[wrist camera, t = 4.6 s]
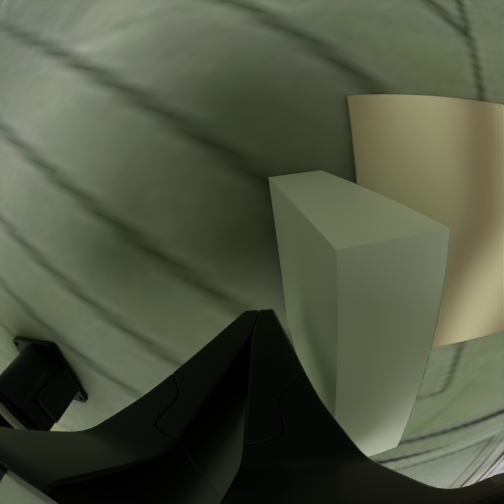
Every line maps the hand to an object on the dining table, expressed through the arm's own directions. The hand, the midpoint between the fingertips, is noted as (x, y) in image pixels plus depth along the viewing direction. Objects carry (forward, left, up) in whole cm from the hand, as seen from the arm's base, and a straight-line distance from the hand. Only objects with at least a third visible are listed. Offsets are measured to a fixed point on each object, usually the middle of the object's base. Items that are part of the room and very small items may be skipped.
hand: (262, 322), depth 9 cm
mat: (+9, 0, -5) cm, 11 cm away
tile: (+1, 0, -5) cm, 5 cm away
